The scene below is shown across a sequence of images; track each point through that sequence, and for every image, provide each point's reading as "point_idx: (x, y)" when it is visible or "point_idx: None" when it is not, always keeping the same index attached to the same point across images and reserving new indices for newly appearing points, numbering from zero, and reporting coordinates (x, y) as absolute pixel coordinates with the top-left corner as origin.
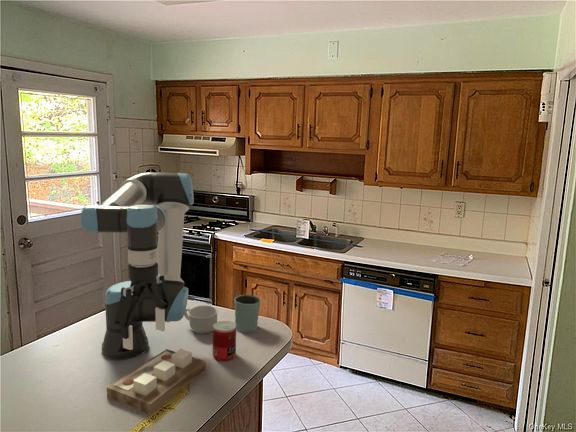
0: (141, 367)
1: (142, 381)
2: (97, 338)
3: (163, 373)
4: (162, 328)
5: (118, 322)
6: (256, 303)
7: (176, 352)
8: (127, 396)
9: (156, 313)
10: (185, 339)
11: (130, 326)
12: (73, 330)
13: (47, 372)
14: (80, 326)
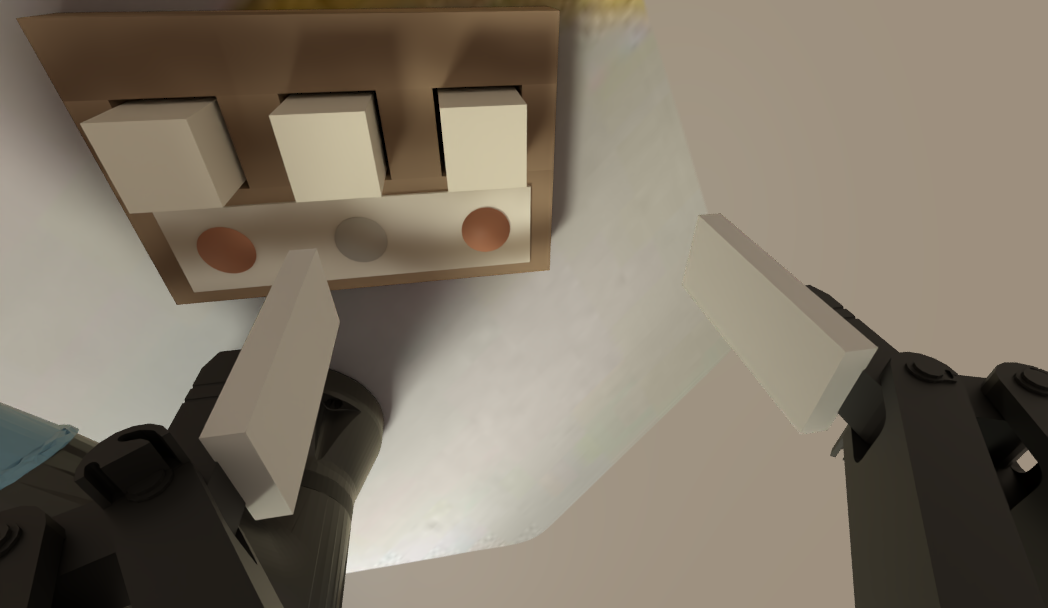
0: (374, 272)
1: (510, 142)
2: None
3: (369, 119)
4: (313, 269)
5: (1026, 448)
6: None
7: (179, 204)
8: (552, 161)
9: (303, 442)
10: (8, 327)
11: (867, 353)
12: (354, 559)
13: (534, 449)
14: None
